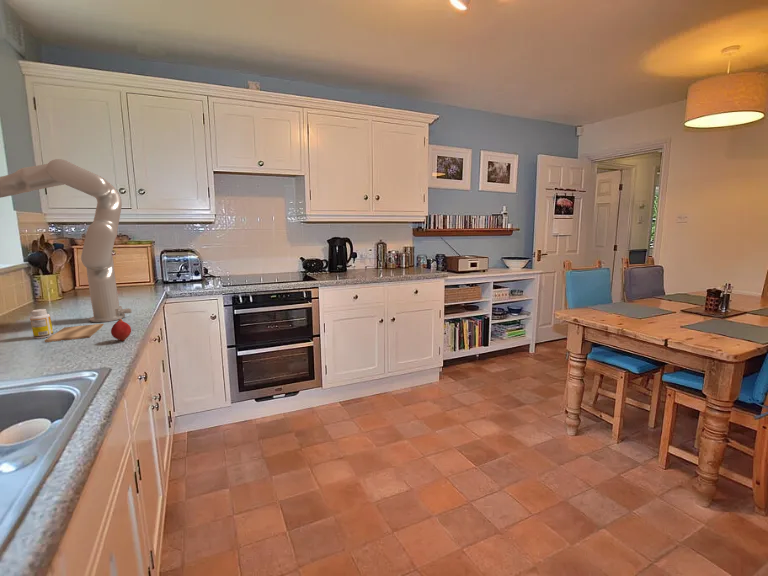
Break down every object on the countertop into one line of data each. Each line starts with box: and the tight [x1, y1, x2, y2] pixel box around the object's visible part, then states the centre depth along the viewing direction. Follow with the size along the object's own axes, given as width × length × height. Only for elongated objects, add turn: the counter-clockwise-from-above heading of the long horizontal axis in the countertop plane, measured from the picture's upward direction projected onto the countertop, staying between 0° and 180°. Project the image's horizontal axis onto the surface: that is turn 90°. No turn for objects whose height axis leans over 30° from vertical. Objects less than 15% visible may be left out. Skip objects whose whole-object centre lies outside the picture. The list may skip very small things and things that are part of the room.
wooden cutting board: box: [44, 323, 104, 343], centre depth 147 cm, size 13×18×1 cm
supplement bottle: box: [29, 308, 54, 339], centre depth 143 cm, size 6×6×10 cm
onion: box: [110, 318, 132, 342], centre depth 136 cm, size 6×6×8 cm
